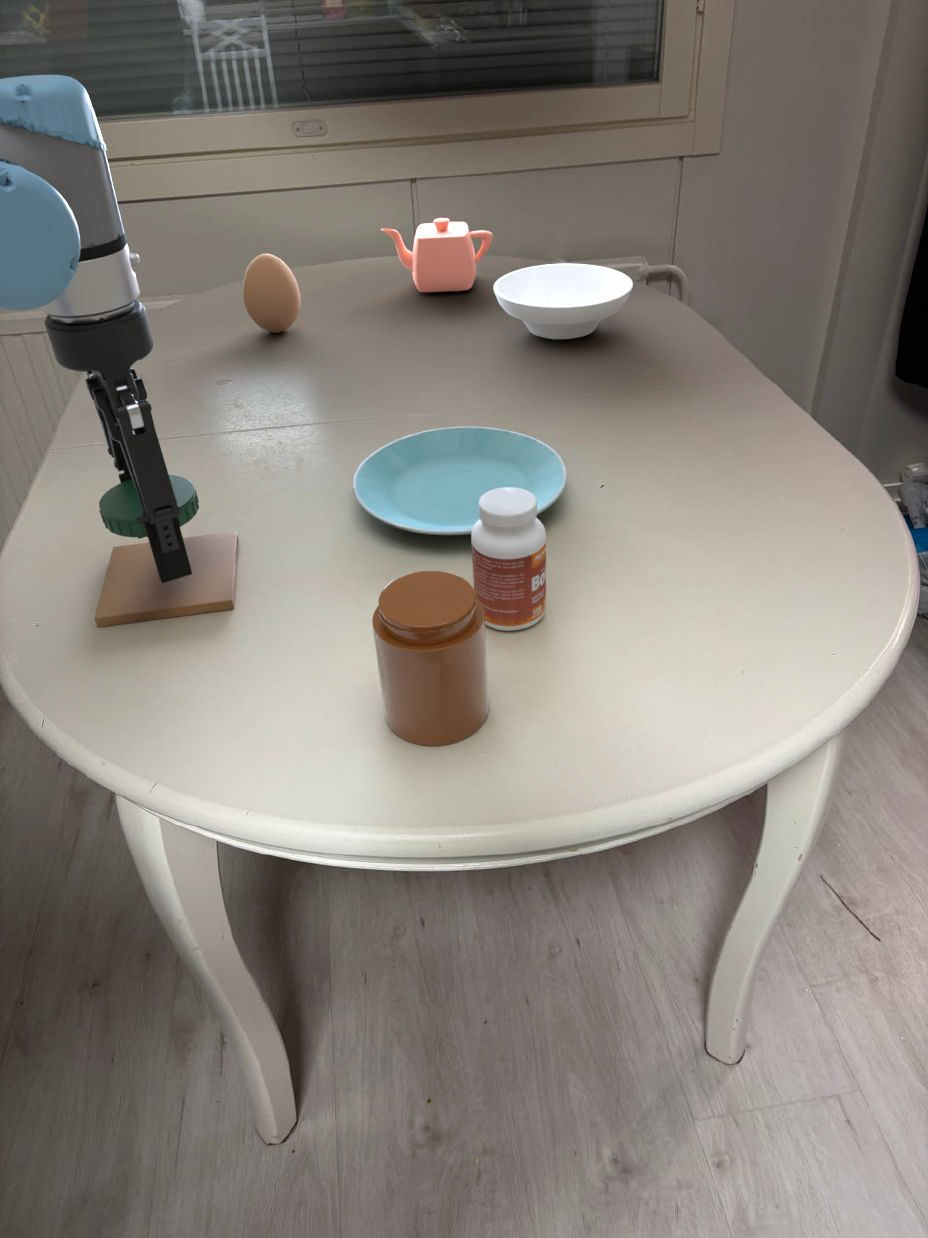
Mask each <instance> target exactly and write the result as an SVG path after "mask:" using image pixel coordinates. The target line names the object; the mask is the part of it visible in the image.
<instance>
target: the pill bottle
mask: <svg viewBox="0 0 928 1238" xmlns="http://www.w3.org/2000/svg"><path fill="white" fill-rule="evenodd" d="M537 516H538V515H537V500H536V497H535V496H534V495H533V494H532V493H531V492H529V491H527V490H524V489H520V488H514V487H504V488H498V489H494V490H491V491H488V492H486V493H485V494H483V495H482V496H481V498H480V500H479V517H480V519H479V520H478V521H477V522H476V524H475V525H474V527H473V530H472V534H470V536H471V538H470V539H471V541H470V542H471V544H470V545H471V558H472V559H471V561H472V575H473V576H472V579H473V589H475V590H476V593H477V598H478V600H479V601H480V602H481V604H482V606H483V608H484V612H485V626H488V627H490V628H491V629H495V630H498V631H504V632H505V631H507V632H509V631H519V630H523V629H527V628H530V627H532V626H534V625H536V624H537V623H538V622H539V621H540V620H541V619H542V618H543V617H544V615H545V613H546V607H547V606H546V605H547V598H546V597H547V533H546V529H545V525H544V524H543V523H542V521H541V520H540V519H538V518H537Z"/></svg>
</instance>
